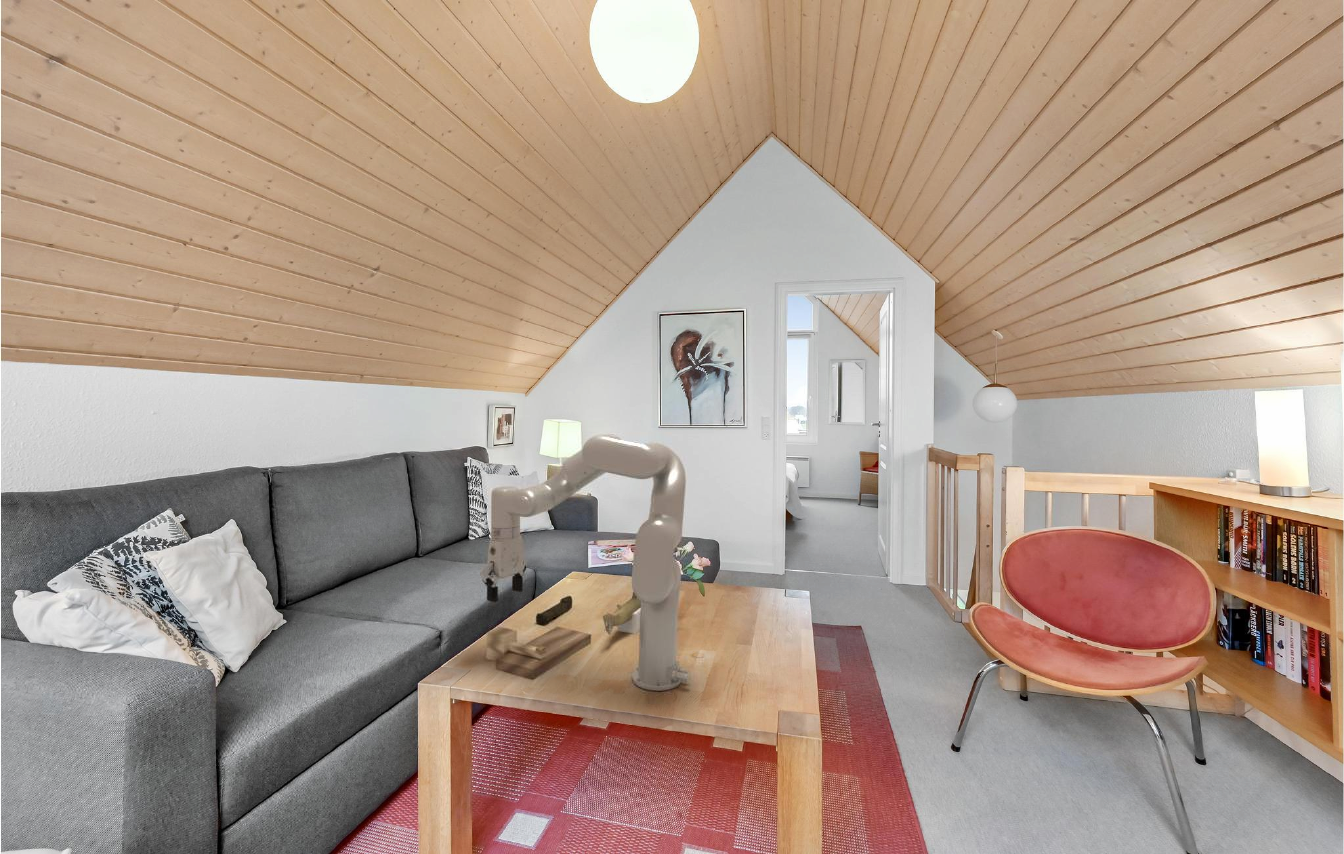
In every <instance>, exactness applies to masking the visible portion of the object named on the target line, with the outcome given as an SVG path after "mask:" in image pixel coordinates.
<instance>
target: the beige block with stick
mask: <svg viewBox="0 0 1344 854" xmlns="http://www.w3.org/2000/svg"><path fill="white" fill-rule="evenodd" d="M485 647H486V651H485V652H486V654H485V655H486V656H485V658H486V659H487V660H491V661H494V662H496V659H498V658H500V657H502V656H504V655H505V654H507V653H509V652H511V651H512V652H516V653H519V654H523V655H527V656H531V657H535V658H538V659H542V658H544V657H545V656H546V649H545V647H543V646H539V647H534V646H530V645H526V643H522V642H520V641H518V630H515V629H511V628H507V627H503V626H498V627H495V628H494V629H492V630H489V631H488V632H486V646H485Z"/></svg>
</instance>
